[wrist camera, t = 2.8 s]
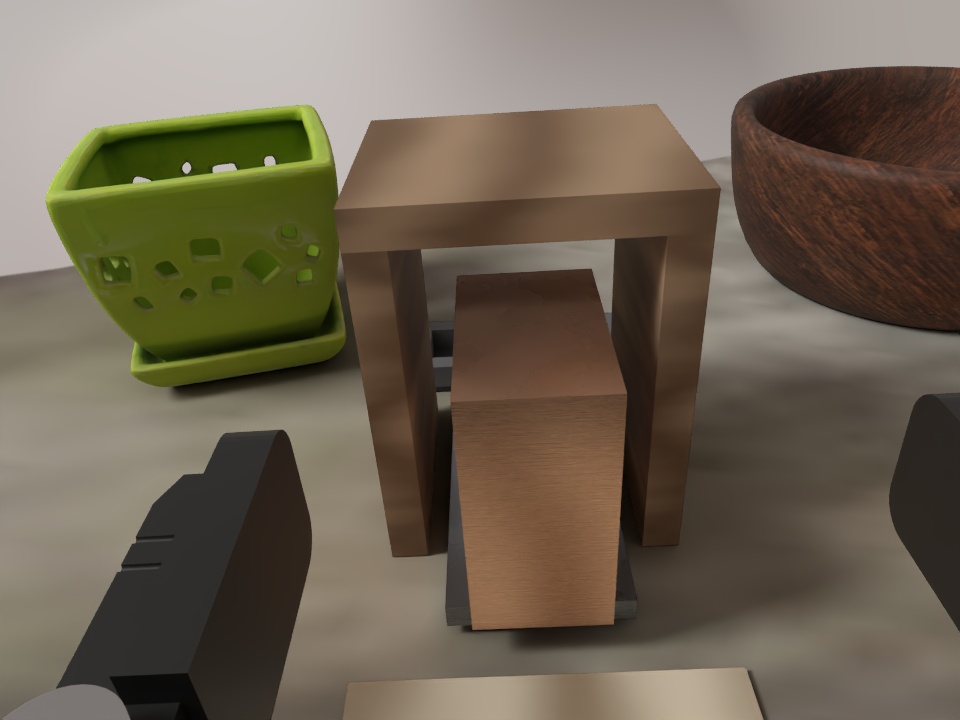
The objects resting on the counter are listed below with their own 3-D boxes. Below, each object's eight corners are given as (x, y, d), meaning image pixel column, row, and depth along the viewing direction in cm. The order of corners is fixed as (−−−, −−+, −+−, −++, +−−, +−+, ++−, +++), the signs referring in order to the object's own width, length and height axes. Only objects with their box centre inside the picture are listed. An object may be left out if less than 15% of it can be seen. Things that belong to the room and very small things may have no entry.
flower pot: (372, 376, 44) (337, 160, 37) (118, 423, 41) (30, 202, 35) (346, 274, 55) (316, 95, 49) (146, 306, 53) (84, 122, 46)
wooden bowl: (813, 174, 67) (836, 51, 62) (1171, 250, 52) (1245, 94, 46) (645, 273, 53) (655, 125, 47) (1068, 417, 37) (1157, 222, 32)
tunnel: (392, 556, 32) (333, 209, 24) (410, 414, 41) (371, 120, 32) (678, 544, 32) (720, 187, 23) (636, 403, 40) (656, 104, 32)
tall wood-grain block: (446, 648, 28) (415, 403, 22) (456, 404, 40) (438, 206, 34) (640, 641, 27) (662, 391, 21) (589, 398, 40) (594, 198, 34)
